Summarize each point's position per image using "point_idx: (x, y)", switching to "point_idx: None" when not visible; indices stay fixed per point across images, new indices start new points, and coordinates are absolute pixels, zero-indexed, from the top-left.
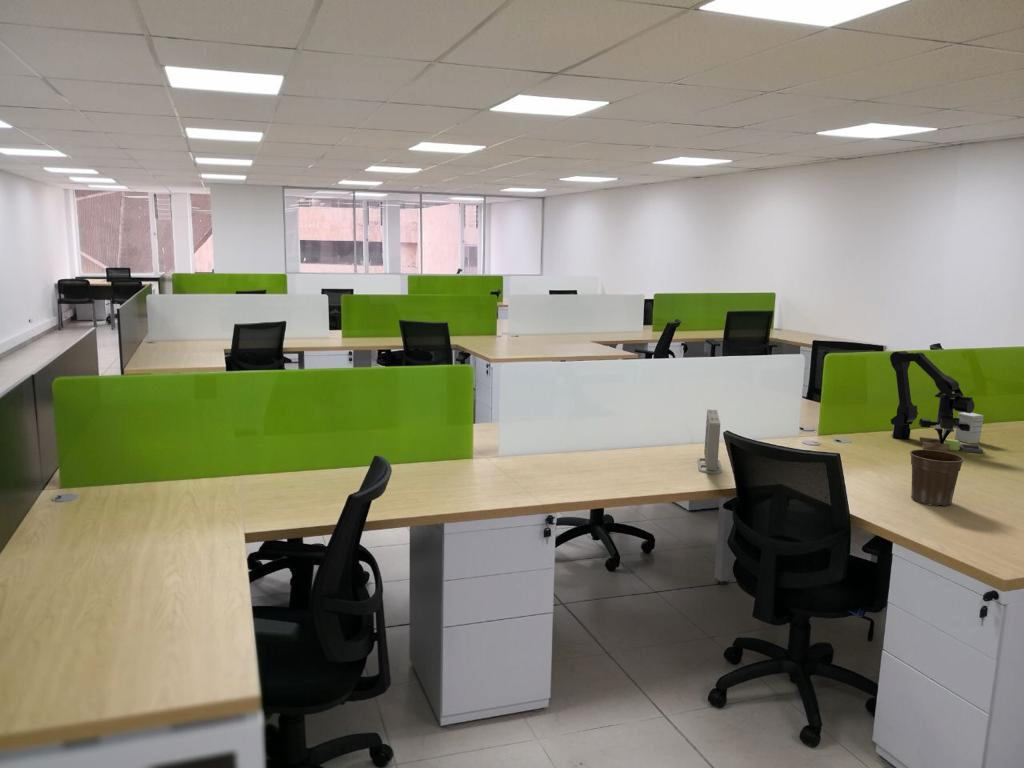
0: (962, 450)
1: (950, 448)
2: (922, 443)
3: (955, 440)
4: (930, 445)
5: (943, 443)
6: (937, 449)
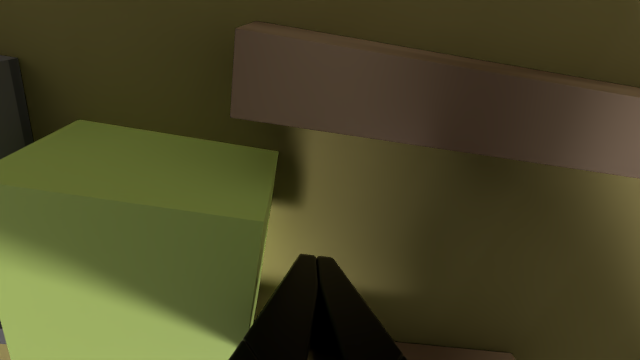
0: (4, 61)
1: (202, 148)
2: (484, 351)
3: (57, 351)
4: (605, 88)
5: None
6: (447, 54)
